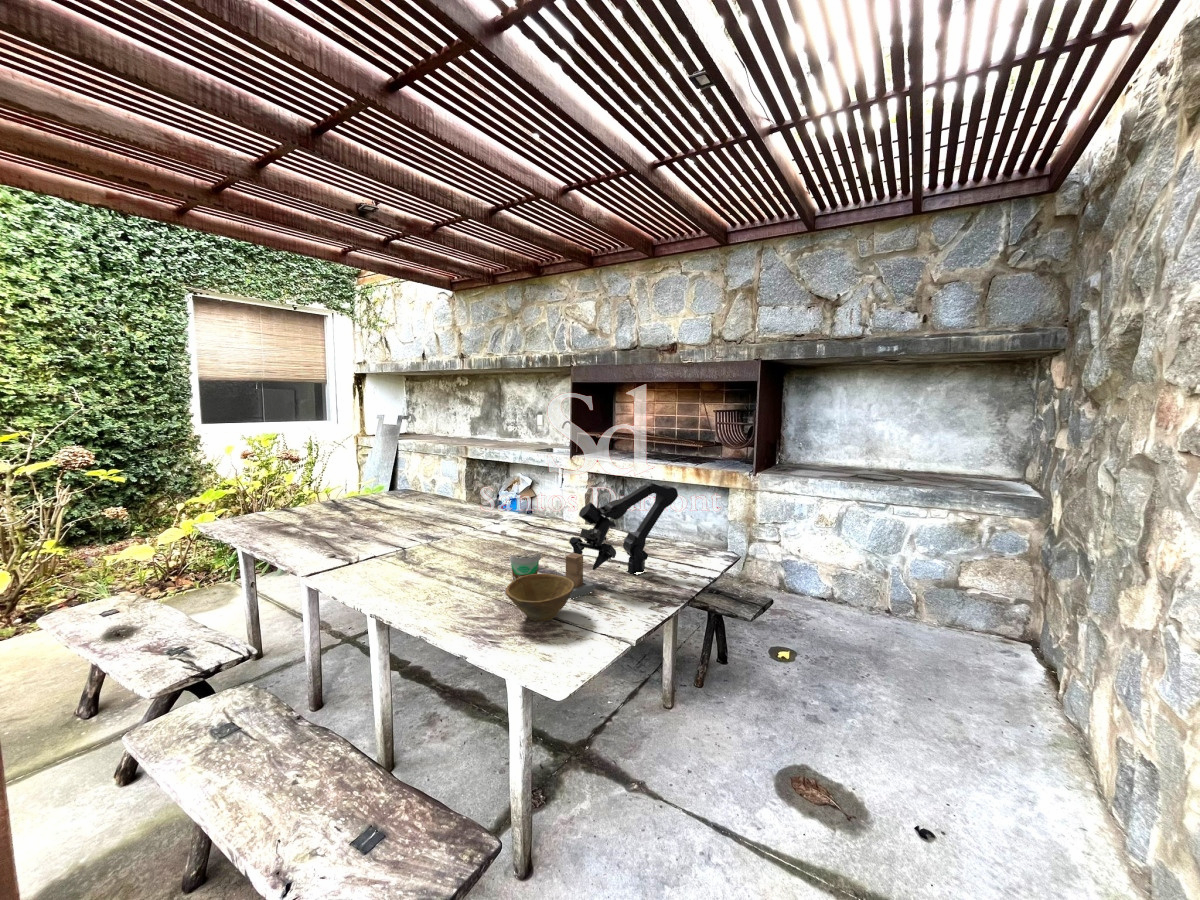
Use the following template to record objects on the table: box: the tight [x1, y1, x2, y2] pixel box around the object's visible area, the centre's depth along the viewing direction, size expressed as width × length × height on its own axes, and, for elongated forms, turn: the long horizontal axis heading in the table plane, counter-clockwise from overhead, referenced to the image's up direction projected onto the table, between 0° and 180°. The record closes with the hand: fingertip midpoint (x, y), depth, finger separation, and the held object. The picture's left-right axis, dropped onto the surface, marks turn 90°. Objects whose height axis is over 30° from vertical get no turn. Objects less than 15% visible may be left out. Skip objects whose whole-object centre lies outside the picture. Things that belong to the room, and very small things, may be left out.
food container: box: [508, 552, 542, 581], centre depth 189 cm, size 12×6×10 cm, turn 105°
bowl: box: [505, 572, 575, 623], centre depth 160 cm, size 22×23×10 cm
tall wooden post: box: [565, 552, 584, 588], centre depth 179 cm, size 4×4×13 cm
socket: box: [569, 579, 595, 600], centre depth 180 cm, size 10×10×3 cm
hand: (583, 567), depth 183 cm, fingers open, 9 cm apart
